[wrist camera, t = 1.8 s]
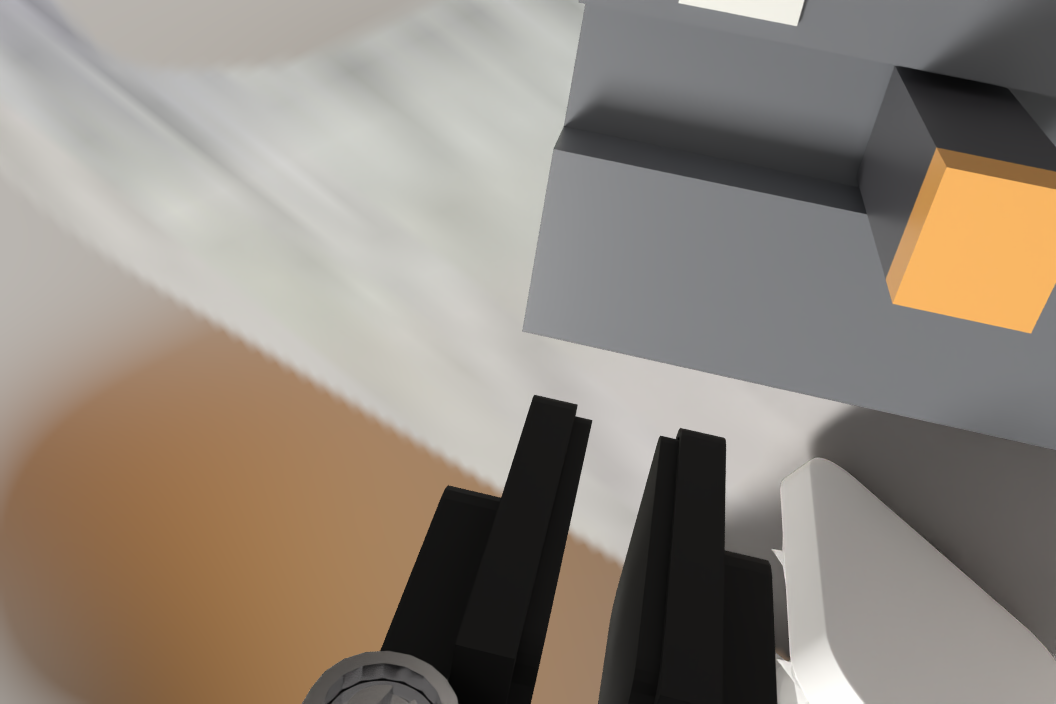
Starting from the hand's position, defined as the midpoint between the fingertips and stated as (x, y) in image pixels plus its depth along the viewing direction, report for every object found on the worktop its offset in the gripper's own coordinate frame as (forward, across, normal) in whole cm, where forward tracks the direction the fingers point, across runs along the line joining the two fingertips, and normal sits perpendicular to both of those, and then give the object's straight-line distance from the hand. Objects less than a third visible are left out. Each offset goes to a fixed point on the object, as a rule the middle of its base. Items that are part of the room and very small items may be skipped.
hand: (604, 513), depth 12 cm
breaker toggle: (+19, -7, 0) cm, 20 cm away
